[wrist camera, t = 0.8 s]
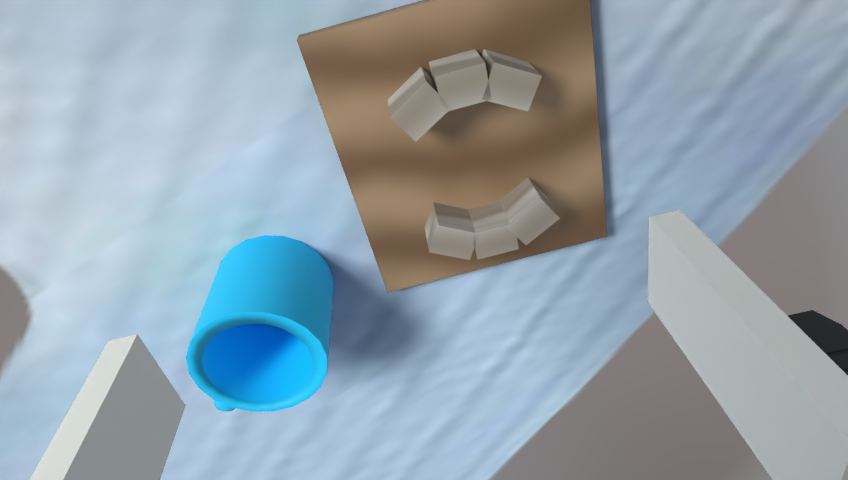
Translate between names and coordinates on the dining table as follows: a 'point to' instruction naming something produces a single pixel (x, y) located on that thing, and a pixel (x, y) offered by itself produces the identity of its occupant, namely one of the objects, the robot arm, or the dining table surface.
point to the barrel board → (464, 130)
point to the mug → (264, 326)
